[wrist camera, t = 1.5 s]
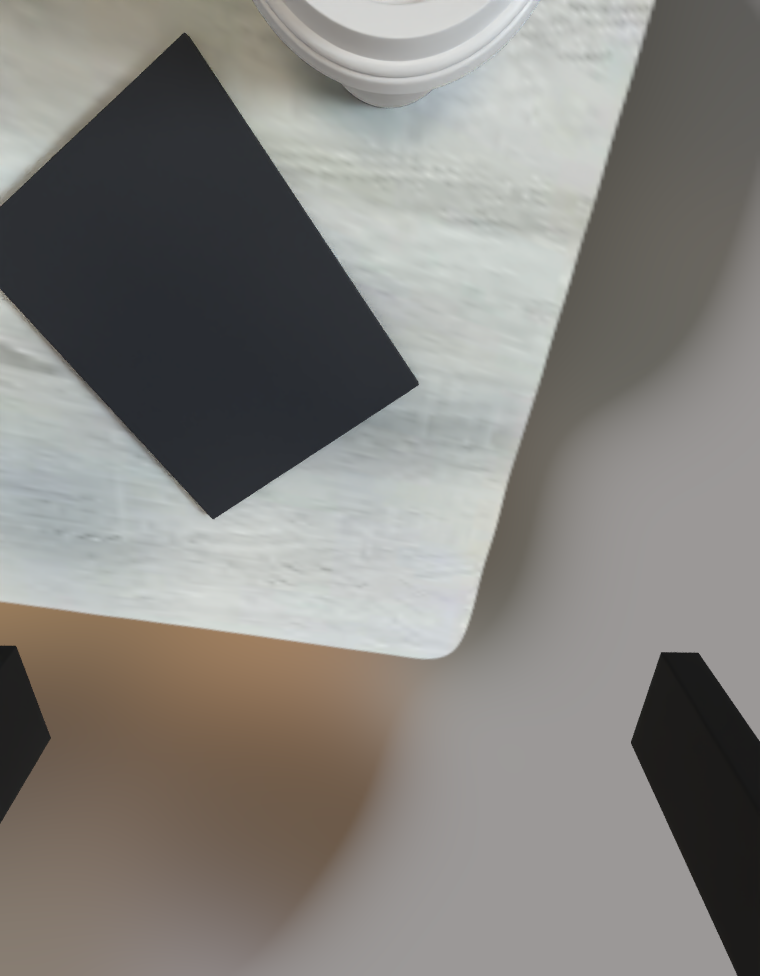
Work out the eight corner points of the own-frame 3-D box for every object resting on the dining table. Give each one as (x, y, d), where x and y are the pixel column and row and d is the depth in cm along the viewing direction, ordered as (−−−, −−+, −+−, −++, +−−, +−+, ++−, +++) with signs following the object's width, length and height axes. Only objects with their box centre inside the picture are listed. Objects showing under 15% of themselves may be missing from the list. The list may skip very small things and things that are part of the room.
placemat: (-34, 244, 30) (-42, 245, 30) (188, 35, 26) (184, 31, 26) (215, 515, 38) (212, 519, 37) (418, 382, 34) (419, 385, 33)
